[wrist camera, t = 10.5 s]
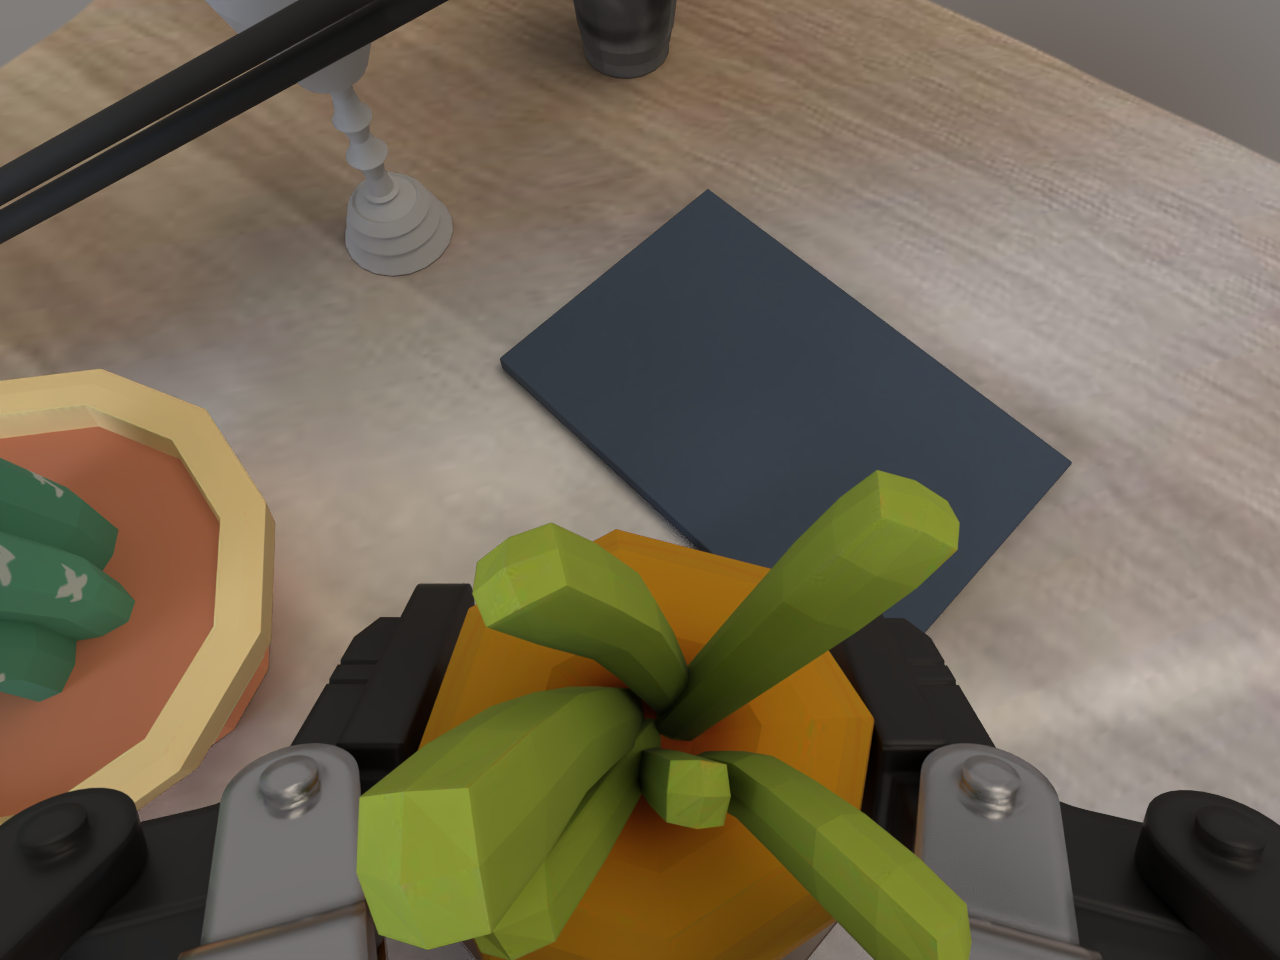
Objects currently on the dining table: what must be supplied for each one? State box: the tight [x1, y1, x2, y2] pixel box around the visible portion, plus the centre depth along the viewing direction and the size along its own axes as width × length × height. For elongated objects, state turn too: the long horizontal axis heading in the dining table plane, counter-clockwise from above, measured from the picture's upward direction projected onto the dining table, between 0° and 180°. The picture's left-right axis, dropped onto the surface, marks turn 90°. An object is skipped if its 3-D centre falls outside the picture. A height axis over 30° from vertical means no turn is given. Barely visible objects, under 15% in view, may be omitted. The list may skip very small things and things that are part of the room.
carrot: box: [356, 470, 972, 960], centre depth 11 cm, size 5×5×15 cm
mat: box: [500, 189, 1072, 633], centre depth 35 cm, size 20×13×1 cm, turn 45°
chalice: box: [205, 0, 453, 276], centre depth 31 cm, size 7×7×18 cm
